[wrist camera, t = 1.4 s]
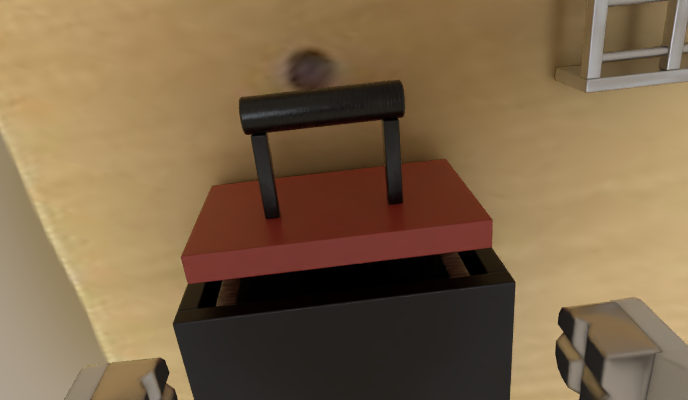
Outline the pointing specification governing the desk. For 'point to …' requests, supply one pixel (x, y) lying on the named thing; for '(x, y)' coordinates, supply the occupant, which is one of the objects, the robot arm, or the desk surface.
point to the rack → (629, 53)
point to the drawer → (333, 209)
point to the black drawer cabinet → (356, 340)
